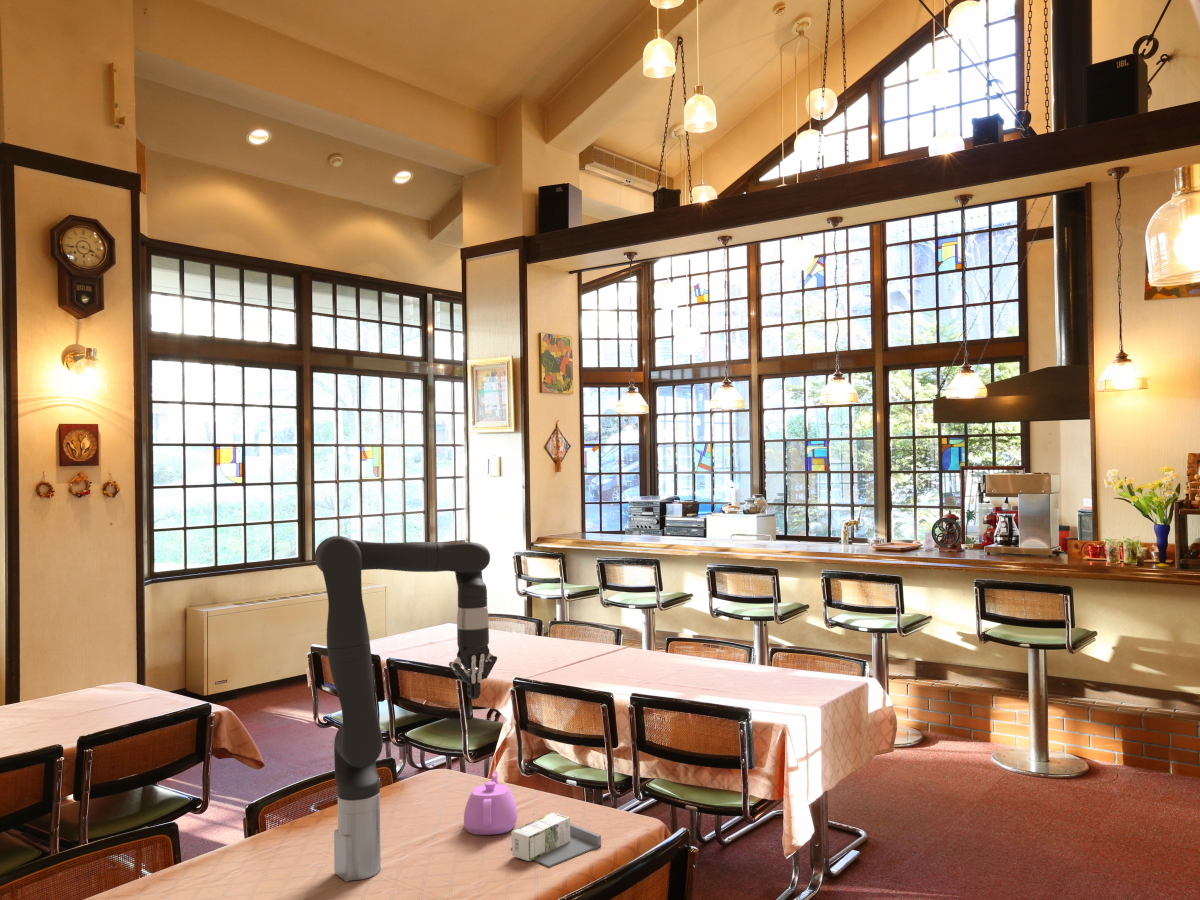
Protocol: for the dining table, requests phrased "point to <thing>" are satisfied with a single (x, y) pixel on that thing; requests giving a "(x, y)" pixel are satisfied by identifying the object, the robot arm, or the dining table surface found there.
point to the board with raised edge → (571, 846)
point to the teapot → (490, 809)
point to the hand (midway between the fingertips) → (474, 698)
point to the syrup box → (540, 836)
